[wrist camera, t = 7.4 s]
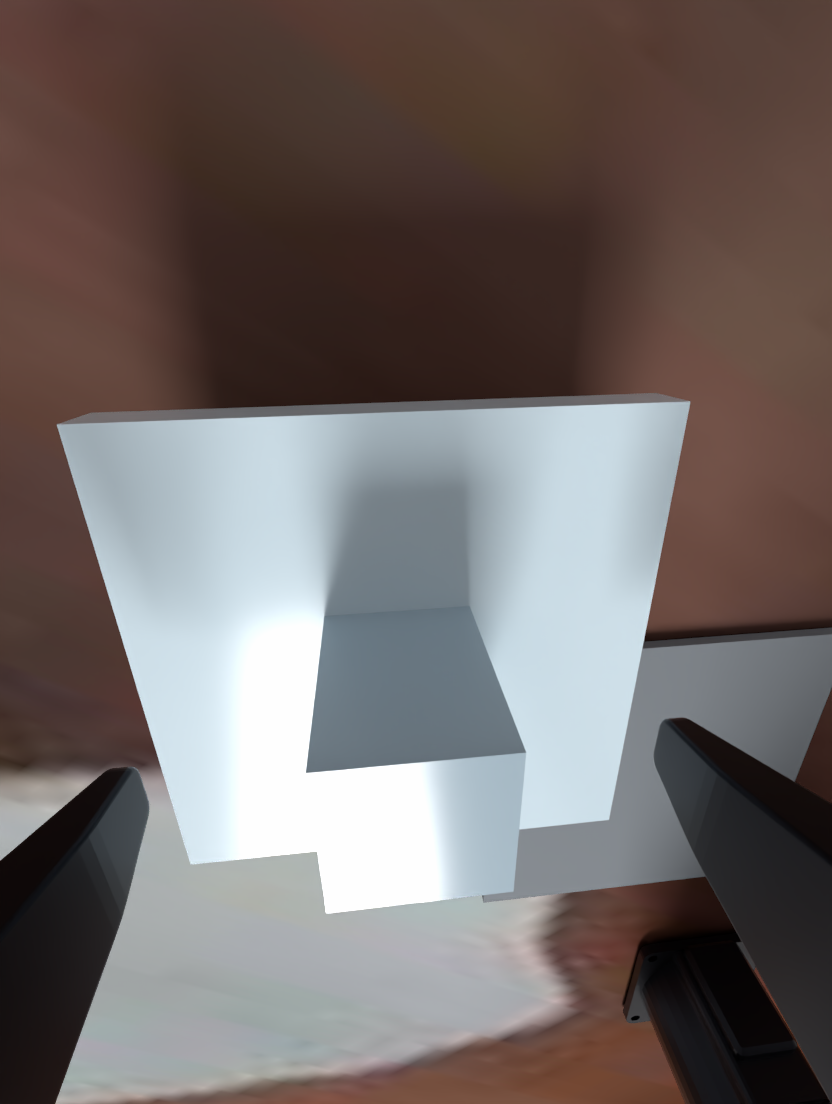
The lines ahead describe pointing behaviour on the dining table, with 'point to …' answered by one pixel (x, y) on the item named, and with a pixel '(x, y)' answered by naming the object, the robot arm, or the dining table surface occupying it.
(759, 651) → the mat
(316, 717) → the lid
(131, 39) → the dining table surface
